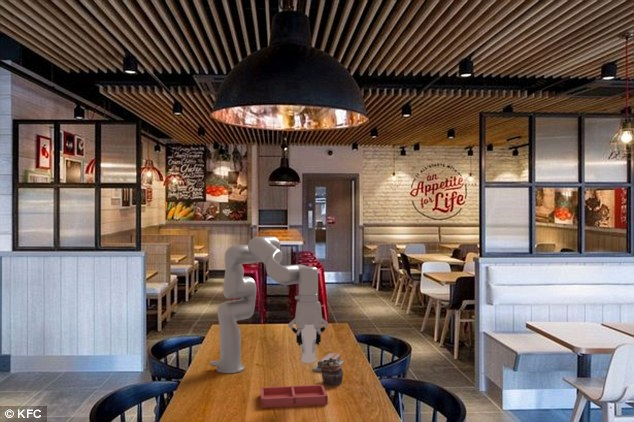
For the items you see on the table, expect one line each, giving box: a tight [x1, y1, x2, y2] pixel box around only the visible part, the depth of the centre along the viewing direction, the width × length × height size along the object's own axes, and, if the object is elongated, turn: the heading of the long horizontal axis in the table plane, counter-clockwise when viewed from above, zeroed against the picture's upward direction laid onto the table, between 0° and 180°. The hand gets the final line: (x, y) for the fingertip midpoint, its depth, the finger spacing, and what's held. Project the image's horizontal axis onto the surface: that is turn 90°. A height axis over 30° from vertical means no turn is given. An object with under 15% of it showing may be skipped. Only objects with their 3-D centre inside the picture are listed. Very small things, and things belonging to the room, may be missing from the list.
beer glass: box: [300, 324, 318, 364], centre depth 204 cm, size 7×7×15 cm
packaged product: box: [312, 352, 345, 373], centre depth 246 cm, size 18×5×10 cm
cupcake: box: [320, 358, 344, 387], centre depth 223 cm, size 10×10×10 cm
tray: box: [260, 384, 329, 409], centre depth 203 cm, size 25×13×3 cm, turn 97°
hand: (308, 344), depth 204 cm, fingers closed on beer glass, 6 cm apart
